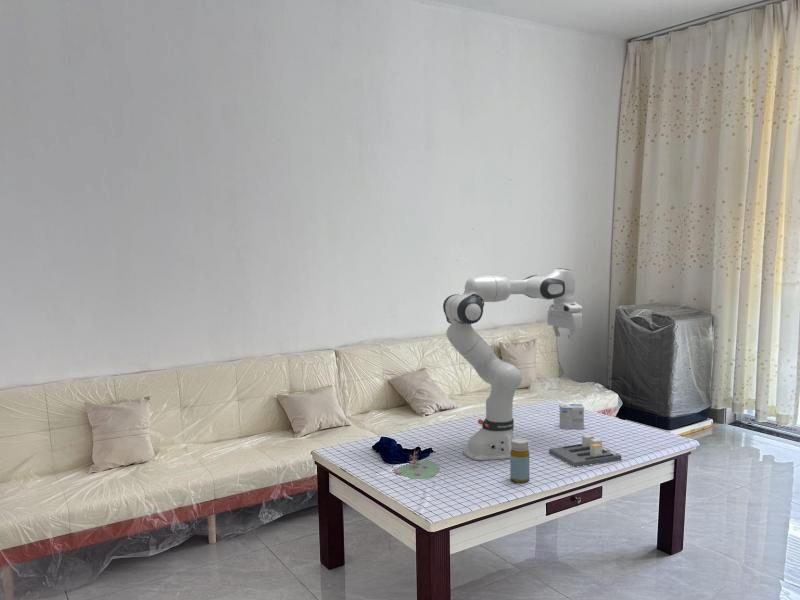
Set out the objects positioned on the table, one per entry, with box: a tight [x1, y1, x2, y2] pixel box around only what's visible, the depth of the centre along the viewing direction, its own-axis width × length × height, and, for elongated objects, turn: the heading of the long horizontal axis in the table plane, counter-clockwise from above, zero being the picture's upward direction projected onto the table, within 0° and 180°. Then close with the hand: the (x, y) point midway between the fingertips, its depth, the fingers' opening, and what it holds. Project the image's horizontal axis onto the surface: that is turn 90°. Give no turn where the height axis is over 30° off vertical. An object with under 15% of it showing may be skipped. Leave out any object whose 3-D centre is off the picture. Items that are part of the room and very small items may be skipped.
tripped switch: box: [590, 443, 603, 457], centre depth 254 cm, size 4×3×4 cm
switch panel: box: [548, 434, 622, 468], centre depth 259 cm, size 22×18×6 cm
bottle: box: [509, 437, 530, 483], centre depth 235 cm, size 7×7×15 cm
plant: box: [392, 447, 440, 480], centre depth 246 cm, size 25×21×9 cm
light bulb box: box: [559, 403, 585, 430], centre depth 300 cm, size 11×7×11 cm, turn 84°
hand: (564, 337), depth 273 cm, fingers open, 8 cm apart
